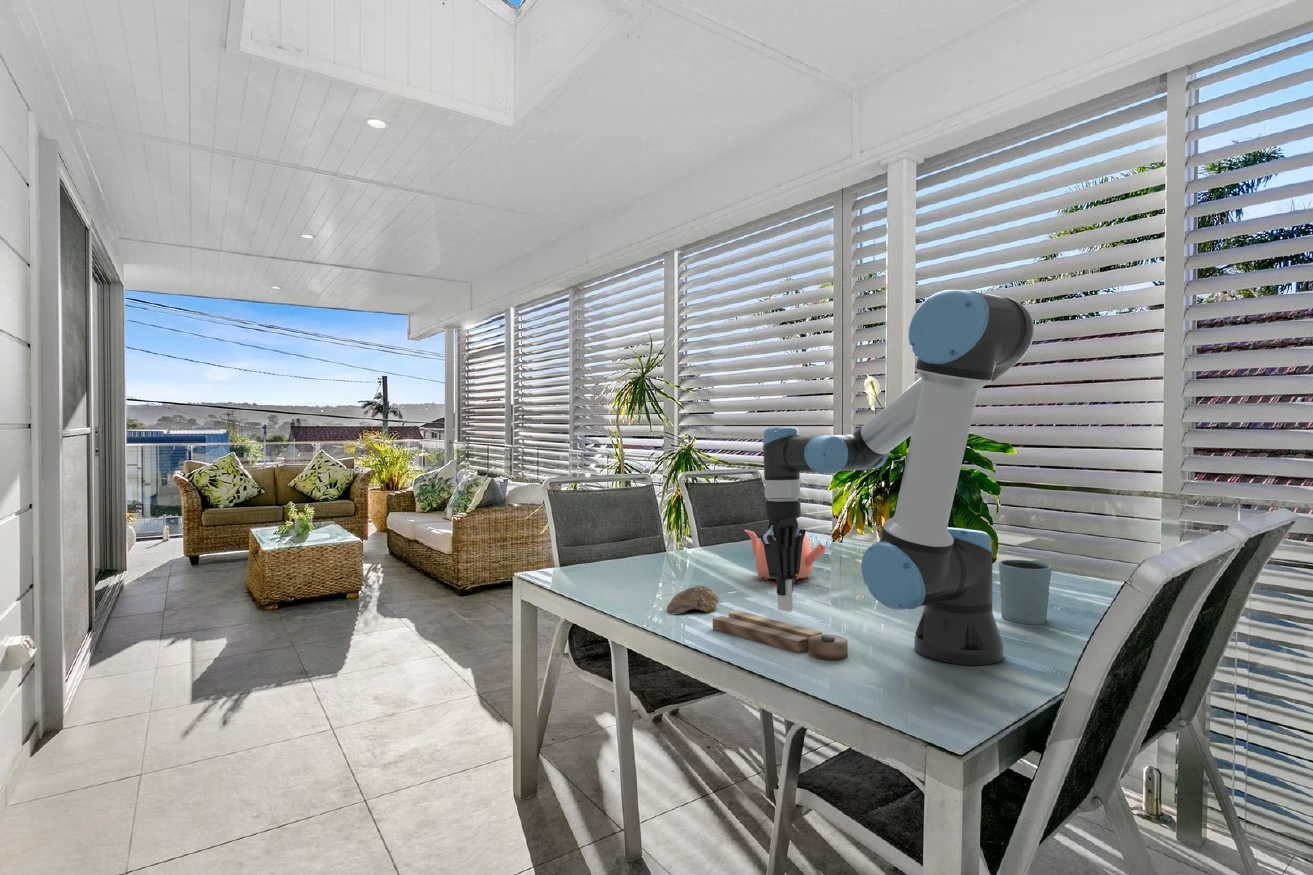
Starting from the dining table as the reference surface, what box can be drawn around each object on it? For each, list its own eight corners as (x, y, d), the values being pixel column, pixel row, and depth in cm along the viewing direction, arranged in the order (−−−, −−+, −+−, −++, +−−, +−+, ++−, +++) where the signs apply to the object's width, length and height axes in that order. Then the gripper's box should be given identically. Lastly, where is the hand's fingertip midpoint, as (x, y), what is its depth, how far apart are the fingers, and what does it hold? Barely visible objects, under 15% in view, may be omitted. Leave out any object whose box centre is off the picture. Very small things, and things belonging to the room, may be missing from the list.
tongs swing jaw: (821, 643, 133) (821, 632, 133) (812, 646, 131) (812, 635, 131) (738, 620, 149) (738, 610, 149) (728, 622, 148) (728, 612, 148)
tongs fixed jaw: (855, 654, 127) (855, 636, 127) (833, 662, 122) (833, 645, 122) (735, 622, 149) (734, 607, 149) (712, 628, 144) (712, 613, 144)
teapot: (762, 587, 182) (762, 535, 182) (744, 573, 200) (743, 525, 200) (828, 584, 185) (827, 532, 184) (803, 570, 203) (803, 523, 203)
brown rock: (662, 606, 165) (662, 585, 165) (713, 603, 167) (712, 582, 167) (669, 616, 155) (669, 594, 155) (723, 613, 157) (723, 592, 157)
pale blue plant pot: (1000, 610, 156) (1000, 557, 155) (1052, 616, 150) (1052, 561, 150) (996, 621, 147) (996, 565, 147) (1051, 628, 142) (1051, 570, 142)
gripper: (786, 496, 154) (789, 601, 154) (749, 500, 145) (752, 612, 145) (815, 497, 149) (818, 607, 148) (777, 502, 140) (780, 618, 140)
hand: (785, 609), depth 147 cm, fingers closed
